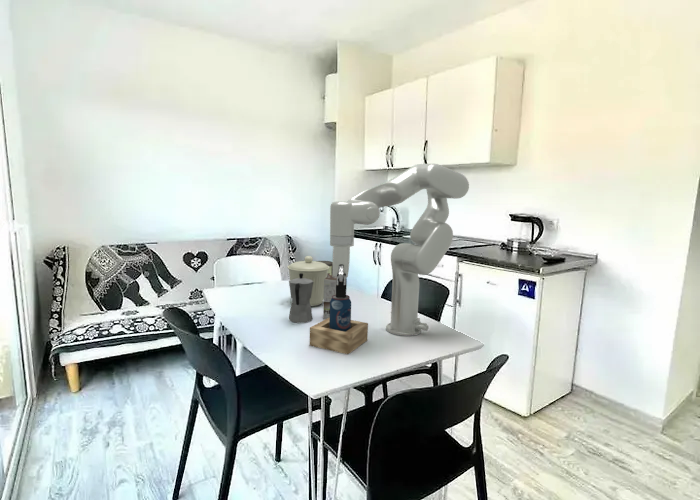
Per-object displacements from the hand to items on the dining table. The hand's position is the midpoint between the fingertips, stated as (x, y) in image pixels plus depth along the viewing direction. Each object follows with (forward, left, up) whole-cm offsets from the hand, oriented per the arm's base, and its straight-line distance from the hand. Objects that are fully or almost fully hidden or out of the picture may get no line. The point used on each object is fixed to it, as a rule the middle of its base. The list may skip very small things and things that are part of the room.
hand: (341, 293), depth 134 cm
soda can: (0, 0, -13) cm, 13 cm away
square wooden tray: (0, 0, -17) cm, 17 cm away
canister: (+34, -34, -17) cm, 51 cm away
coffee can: (+41, -58, -17) cm, 73 cm away
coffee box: (+15, -23, -17) cm, 32 cm away
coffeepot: (+24, -13, -17) cm, 32 cm away
